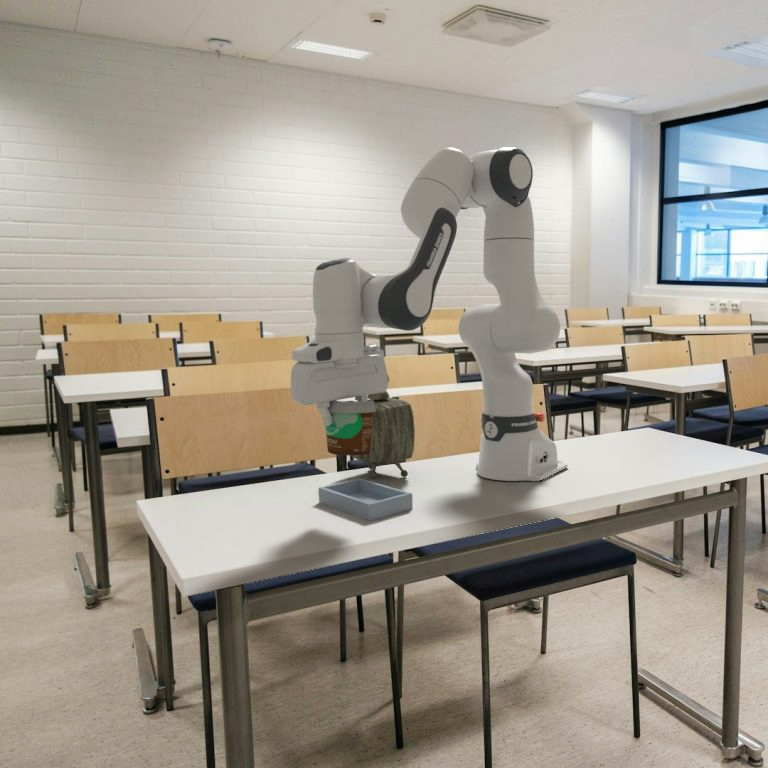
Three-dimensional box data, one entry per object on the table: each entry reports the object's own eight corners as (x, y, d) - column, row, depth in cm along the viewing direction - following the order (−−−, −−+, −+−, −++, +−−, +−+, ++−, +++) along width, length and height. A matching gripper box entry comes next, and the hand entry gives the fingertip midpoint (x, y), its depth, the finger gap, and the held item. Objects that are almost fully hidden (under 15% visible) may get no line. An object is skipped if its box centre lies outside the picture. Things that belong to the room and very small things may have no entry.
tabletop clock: (415, 477, 160) (413, 368, 157) (388, 485, 153) (385, 372, 150) (371, 467, 170) (368, 365, 167) (344, 475, 163) (340, 369, 160)
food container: (307, 450, 132) (306, 398, 131) (332, 446, 136) (331, 395, 135) (351, 459, 123) (350, 403, 122) (376, 454, 128) (375, 400, 127)
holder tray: (360, 492, 148) (359, 478, 148) (412, 508, 135) (412, 493, 135) (319, 502, 141) (318, 487, 141) (370, 520, 129) (369, 504, 128)
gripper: (372, 343, 137) (375, 412, 139) (283, 352, 124) (288, 428, 126) (393, 344, 132) (396, 415, 134) (303, 354, 119) (308, 433, 121)
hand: (343, 422), depth 130 cm, fingers closed on food container, 5 cm apart
